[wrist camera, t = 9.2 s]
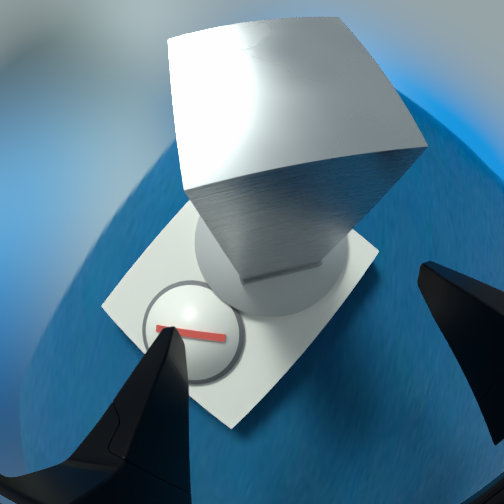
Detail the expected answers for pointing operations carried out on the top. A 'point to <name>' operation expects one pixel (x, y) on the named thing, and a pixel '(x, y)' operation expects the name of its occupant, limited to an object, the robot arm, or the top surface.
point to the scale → (230, 311)
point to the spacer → (285, 138)
